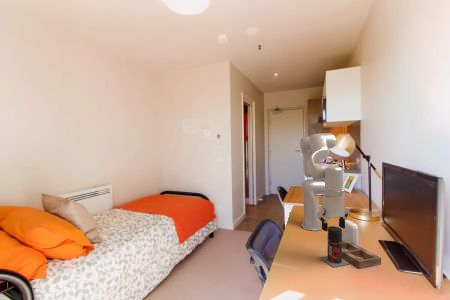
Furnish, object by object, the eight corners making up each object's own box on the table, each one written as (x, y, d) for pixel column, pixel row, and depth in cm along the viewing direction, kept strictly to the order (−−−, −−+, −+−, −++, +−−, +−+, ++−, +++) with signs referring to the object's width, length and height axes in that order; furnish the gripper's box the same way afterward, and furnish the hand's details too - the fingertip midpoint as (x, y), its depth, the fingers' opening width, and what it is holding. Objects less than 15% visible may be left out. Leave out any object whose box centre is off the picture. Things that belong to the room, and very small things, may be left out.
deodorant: (343, 260, 104) (343, 228, 103) (339, 265, 99) (339, 232, 99) (330, 255, 108) (330, 225, 107) (325, 260, 104) (325, 228, 103)
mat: (319, 257, 107) (319, 257, 107) (335, 255, 109) (335, 254, 109) (333, 267, 98) (333, 266, 98) (349, 264, 100) (349, 263, 100)
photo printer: (339, 239, 126) (339, 218, 126) (345, 238, 127) (345, 217, 127) (353, 247, 116) (353, 224, 116) (360, 246, 117) (360, 223, 117)
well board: (330, 250, 114) (330, 244, 114) (349, 246, 118) (349, 241, 117) (359, 268, 97) (359, 262, 97) (381, 264, 100) (381, 257, 100)
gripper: (342, 189, 109) (342, 223, 110) (312, 192, 104) (312, 228, 105) (355, 193, 102) (354, 229, 103) (323, 196, 97) (323, 234, 98)
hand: (333, 228), depth 104 cm, fingers open, 9 cm apart
